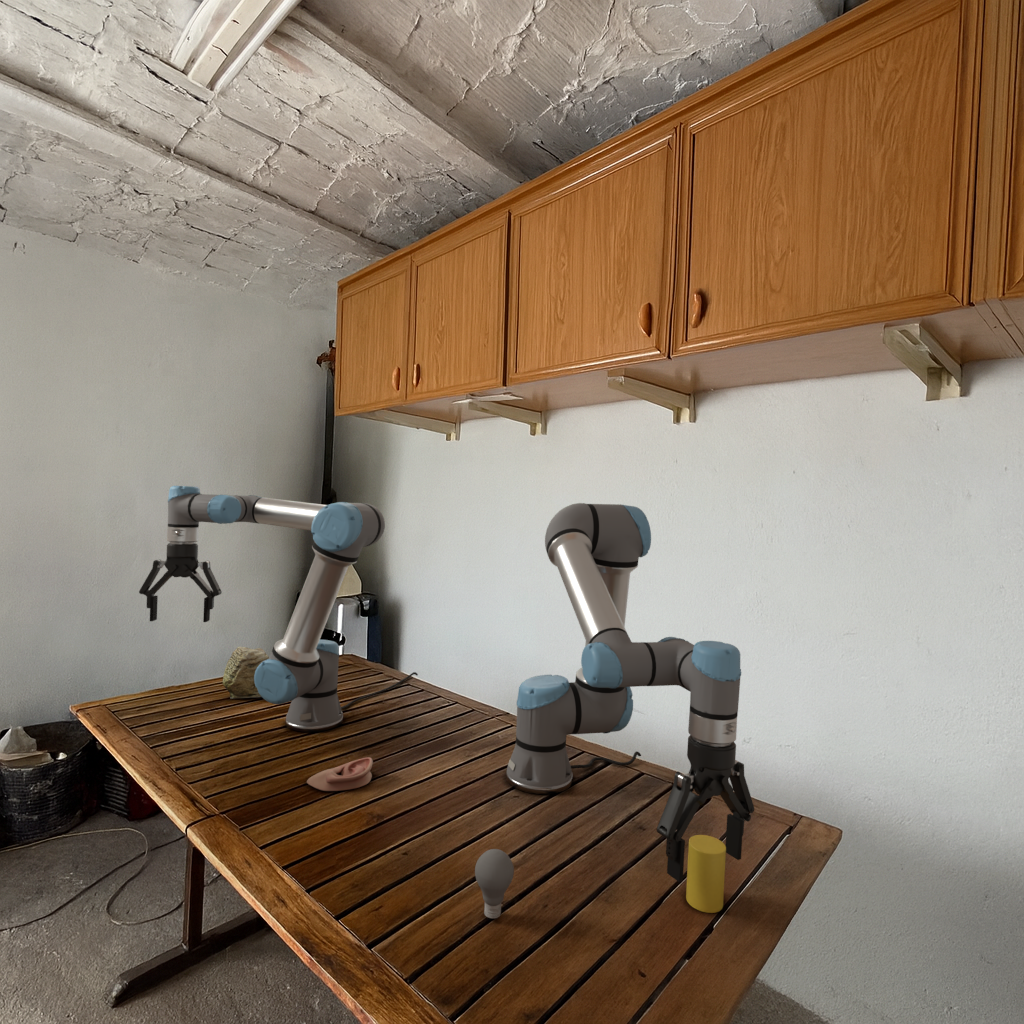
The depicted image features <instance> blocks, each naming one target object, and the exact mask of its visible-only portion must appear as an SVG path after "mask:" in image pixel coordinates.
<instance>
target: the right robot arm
mask: <svg viewBox="0 0 1024 1024" xmlns="http://www.w3.org/2000/svg"><path fill="white" fill-rule="evenodd" d="M650 525H651V524H650V522H649V520H648V518H647V515H646V513H645V512H644V511H643V510H642V509H641V508H639V507H638V506H634V505H626V504H619V503H618V504H614V503H612V504H611V503H586V502H578V503H571V504H569V505H567V506H565V507H563V508H561V509H560V510H559V511H558V512H557V513H555V514H554V515H553V517H552V518H551V519H550V521H549V523H548V525H547V528H546V530H545V535H544V546H545V551H546V554H547V557H548V559H549V561H550V563H551V564H552V565H554V566H555V567H557V570H558V572H559V574H560V577H561V580H562V582H563V585H564V587H565V590H566V594H567V595H568V598H569V600H570V604H571V606H572V609H573V611H574V614H575V616H576V619H577V621H578V624H579V626H580V629H581V632H582V634H583V637H584V640H585V644H584V647H583V649H582V652H581V658H580V660H581V661H580V664H581V665H580V666H581V667H580V668H578V669H577V671H576V672H575V681H574V682H570V681H569V679H568V678H567V677H565V676H563V675H559V674H540V675H535V676H532V677H529V678H526V679H525V680H524V681H523V682H521V683H520V685H519V686H518V691H517V699H516V727H515V729H516V730H515V744H514V745H515V746H514V748H513V751H512V753H511V755H510V758H509V761H508V763H507V767H506V774H505V777H506V781H507V783H508V784H509V785H510V786H511V787H513V788H514V789H516V790H519V791H522V792H525V793H528V794H535V795H552V794H558V793H561V792H564V791H566V790H567V789H569V788H570V787H571V786H572V784H573V771H572V770H574V769H588V768H591V767H592V766H593V764H594V762H596V761H600V762H601V761H602V762H606V763H610V764H612V765H617V766H621V767H626V766H630V765H632V764H633V763H634V762H635V760H636V758H637V756H638V757H642V754H641V753H640V752H639V751H635V752H634V753H633V755H632V757H631V759H630V760H628V761H625V762H624V761H623V762H622V761H616V760H613V759H610V758H607V757H604V756H603V757H602V756H596V757H593V758H591V759H590V761H589V762H588V763H587V764H571V762H570V758H569V755H568V751H567V736H569V735H586V734H587V735H591V734H609V733H614V732H615V733H616V732H620V731H622V730H624V729H625V728H626V727H627V726H628V725H629V723H630V721H631V718H632V716H633V710H634V699H633V696H634V695H633V690H632V688H633V687H634V688H635V687H662V686H663V687H666V686H679V687H681V688H683V689H685V690H686V691H688V692H690V696H689V698H690V699H689V714H688V728H687V731H688V735H689V736H688V737H687V750H686V751H687V753H686V757H687V759H688V761H689V765H690V768H689V770H688V773H682V772H681V771H676V772H675V773H674V777H673V784H672V788H671V791H670V793H669V796H668V798H667V801H666V804H665V806H664V809H663V811H662V813H661V816H660V819H659V822H658V824H657V827H656V833H658V834H659V835H660V836H662V837H663V838H665V839H666V843H665V856H666V857H667V864H666V865H667V867H666V874H667V875H669V876H670V877H671V878H673V879H674V880H675V881H676V882H678V883H681V882H683V880H684V866H685V865H684V864H685V848H686V839H683V836H684V834H685V833H686V830H687V829H688V827H689V825H690V824H691V822H692V820H693V818H694V816H696V815H695V814H696V813H697V812H698V809H699V807H700V806H701V805H704V804H705V803H706V800H708V799H711V798H713V797H718V796H720V798H721V799H722V800H723V802H724V803H725V805H726V806H727V808H728V809H729V811H730V813H728V814H727V815H726V829H725V846H726V854H728V855H729V856H730V857H733V859H735V860H737V861H740V860H742V851H743V850H742V847H743V836H744V832H745V830H744V829H745V821H746V822H750V821H751V818H752V815H751V814H753V813H754V812H755V806H754V802H753V799H752V796H751V793H750V789H749V786H748V783H747V780H746V776H745V764H744V763H742V762H741V761H738V760H736V757H737V756H736V755H737V744H736V743H735V741H736V740H737V729H738V728H737V727H738V715H739V702H740V688H741V676H742V669H741V651H740V650H739V648H738V647H736V646H735V645H734V644H731V643H727V642H723V641H717V640H702V641H697V642H696V643H694V644H693V643H692V642H690V641H688V640H686V639H684V638H680V637H676V636H666V637H663V638H661V639H660V640H658V641H647V642H645V641H640V642H639V641H638V642H637V641H635V642H634V641H632V640H631V637H630V636H629V634H628V631H627V630H626V627H625V626H626V617H627V609H628V599H629V588H630V580H631V573H632V572H633V571H634V570H635V569H637V568H638V566H639V559H640V558H643V557H645V556H646V555H648V554H649V551H650V550H651V545H652V531H651V526H650ZM729 781H730V782H729ZM694 792H695V793H694Z"/></svg>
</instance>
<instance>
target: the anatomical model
mask: <svg viewBox="0 0 1024 1024" xmlns="http://www.w3.org/2000/svg"><path fill="white" fill-rule="evenodd" d="M373 763H374V761H373V758H372V757H370V756H368V757H362V758H359V759H356V760H352V761H350V762H346V763H344V764H341V765H339V766H336V767H332V768H328V769H325V770H322V771H319V772H317V773H315V774H314V775H311V777H309V778H308V779H306V784H308V786H311V787H313V788H314V789H317V790H319V791H322V792H338V791H348V790H353V789H357V788H360V787H364V786H366V785H367V784H369V783H370V782H371V780H372V779H373V774H372V772H371V770H372V767H373Z"/></svg>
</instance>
